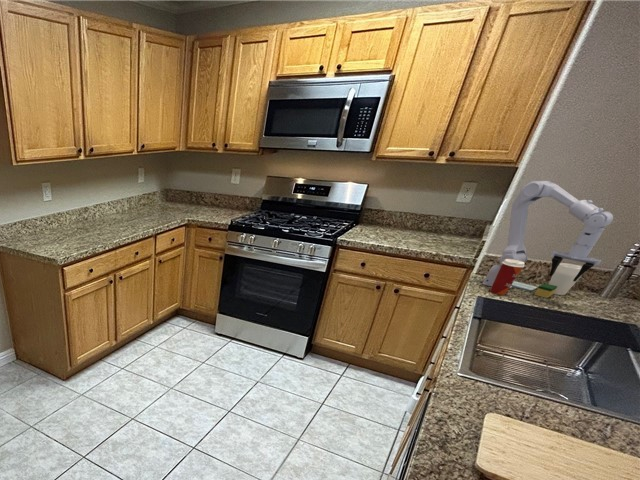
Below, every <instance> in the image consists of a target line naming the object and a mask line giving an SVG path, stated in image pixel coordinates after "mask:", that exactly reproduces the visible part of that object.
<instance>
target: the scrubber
mask: <svg viewBox="0 0 640 480" xmlns="http://www.w3.org/2000/svg"><path fill="white" fill-rule="evenodd" d="M556 288H557V286H554V285H549V283H542V284H541V285H539V286H537V288H536V290H535V292H534V296H538V297H542V298H546V299H547V298H549V297H551V296H553V295H554V294H553V293H554V291H555V290H556Z"/></svg>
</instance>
